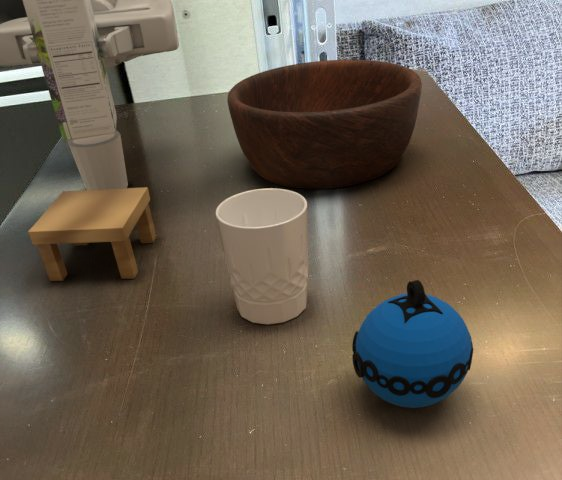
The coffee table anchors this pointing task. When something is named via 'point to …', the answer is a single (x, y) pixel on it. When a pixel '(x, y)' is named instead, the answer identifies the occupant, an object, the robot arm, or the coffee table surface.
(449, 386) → the ornament
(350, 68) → the wooden bowl
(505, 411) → the coffee table surface
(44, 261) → the stand
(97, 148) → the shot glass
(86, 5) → the syrup box
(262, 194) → the white cup
